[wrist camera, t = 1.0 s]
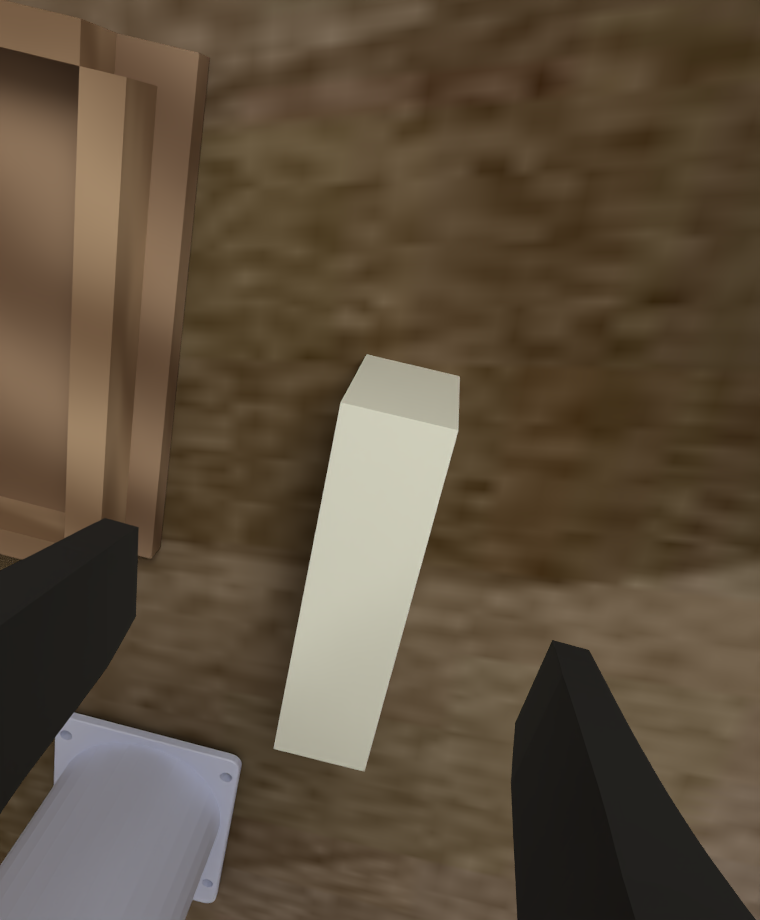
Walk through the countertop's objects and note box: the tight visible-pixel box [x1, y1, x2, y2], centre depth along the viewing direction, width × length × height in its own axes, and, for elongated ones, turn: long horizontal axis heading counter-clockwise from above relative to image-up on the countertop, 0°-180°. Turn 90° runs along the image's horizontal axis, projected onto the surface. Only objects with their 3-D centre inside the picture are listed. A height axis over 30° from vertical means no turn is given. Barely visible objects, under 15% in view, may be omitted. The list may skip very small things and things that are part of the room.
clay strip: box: [274, 355, 460, 771], centre depth 21 cm, size 12×3×5 cm, turn 168°
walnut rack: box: [0, 0, 210, 560], centre depth 21 cm, size 16×9×3 cm, turn 167°
